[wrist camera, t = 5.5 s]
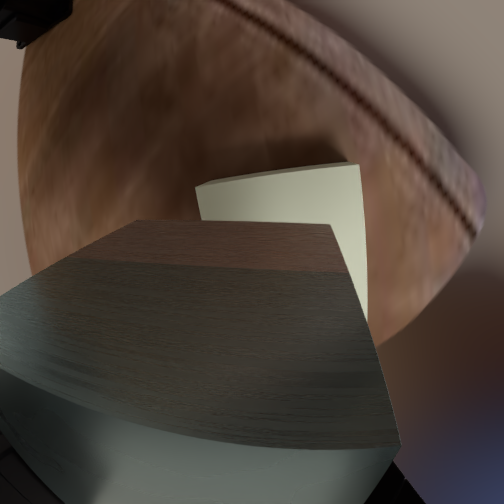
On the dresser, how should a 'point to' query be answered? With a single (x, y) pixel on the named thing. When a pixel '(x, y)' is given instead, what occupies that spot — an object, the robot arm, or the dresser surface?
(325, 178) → the sage stand
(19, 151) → the dresser surface
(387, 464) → the grey-blue rectangular block
